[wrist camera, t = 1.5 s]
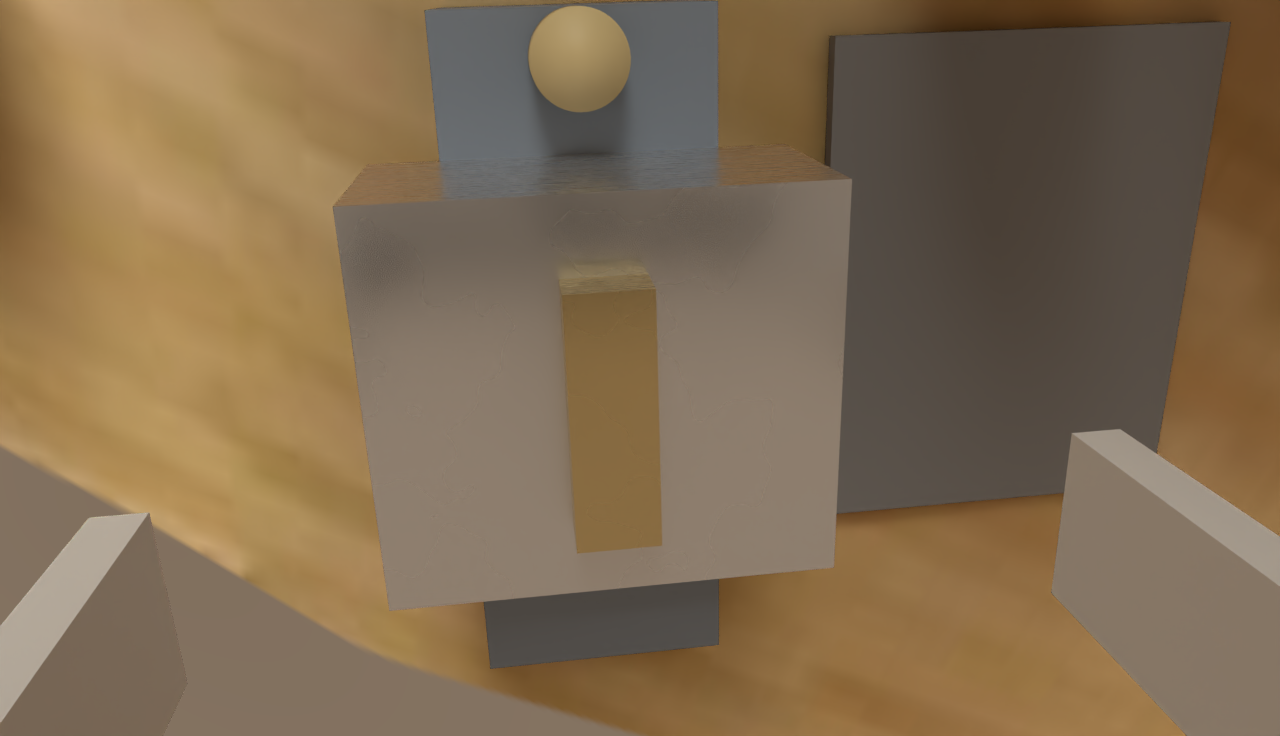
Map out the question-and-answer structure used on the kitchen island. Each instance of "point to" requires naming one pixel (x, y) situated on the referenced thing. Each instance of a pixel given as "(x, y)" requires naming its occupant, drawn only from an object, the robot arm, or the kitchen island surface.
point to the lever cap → (598, 367)
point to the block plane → (564, 125)
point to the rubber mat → (1012, 247)
